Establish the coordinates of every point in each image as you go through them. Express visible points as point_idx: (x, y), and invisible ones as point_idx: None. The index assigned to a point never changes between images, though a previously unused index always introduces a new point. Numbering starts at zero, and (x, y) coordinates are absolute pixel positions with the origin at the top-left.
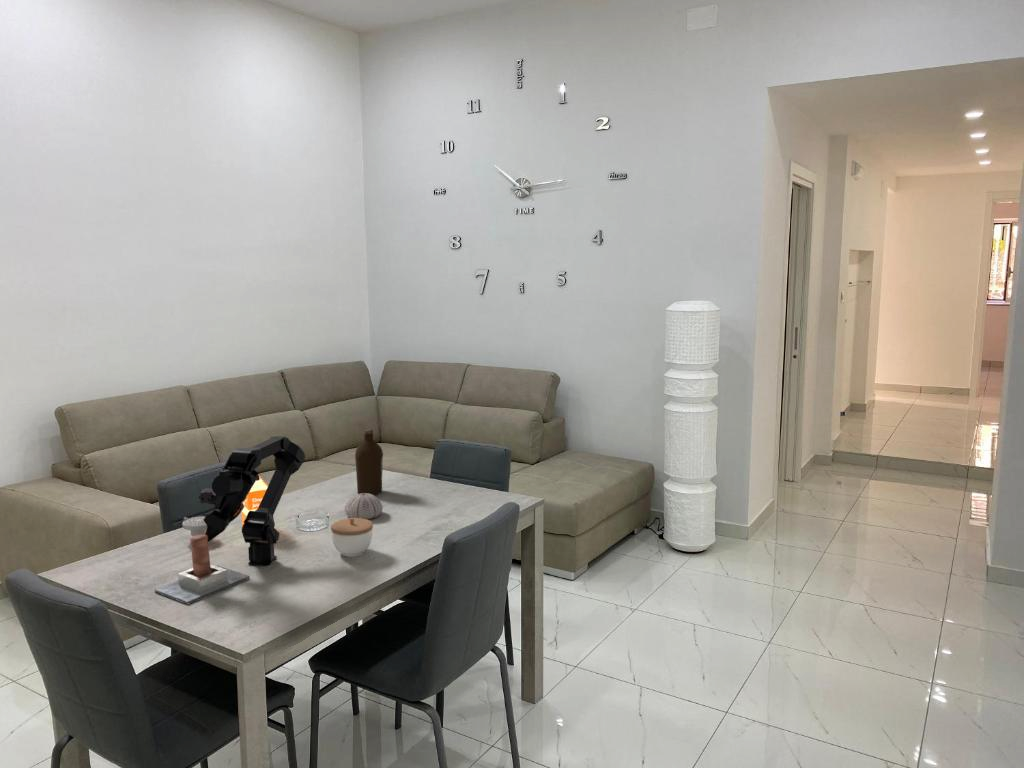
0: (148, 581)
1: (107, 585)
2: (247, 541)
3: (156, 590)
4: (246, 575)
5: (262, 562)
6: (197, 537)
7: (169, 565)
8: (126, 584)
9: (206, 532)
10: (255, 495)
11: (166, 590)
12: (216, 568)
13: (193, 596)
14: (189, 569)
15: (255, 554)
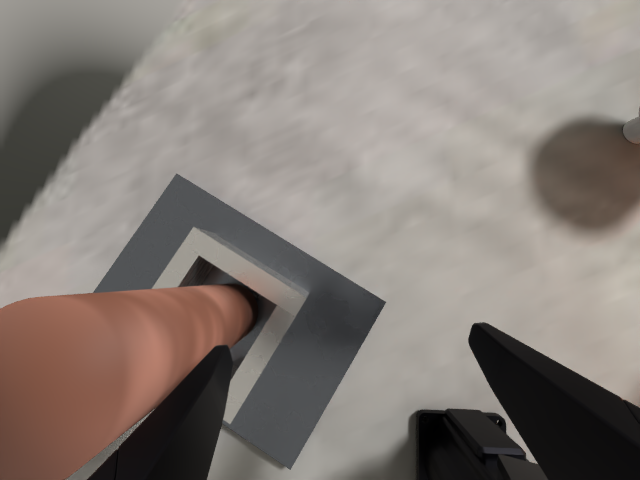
0: (265, 121)
1: (236, 21)
2: (502, 477)
3: (171, 181)
4: (295, 455)
5: (427, 476)
6: (26, 376)
7: (395, 129)
8: (243, 68)
9: (116, 456)
10: None
11: (168, 213)
12: (244, 369)
13: None
14: (234, 256)
15: (444, 474)
